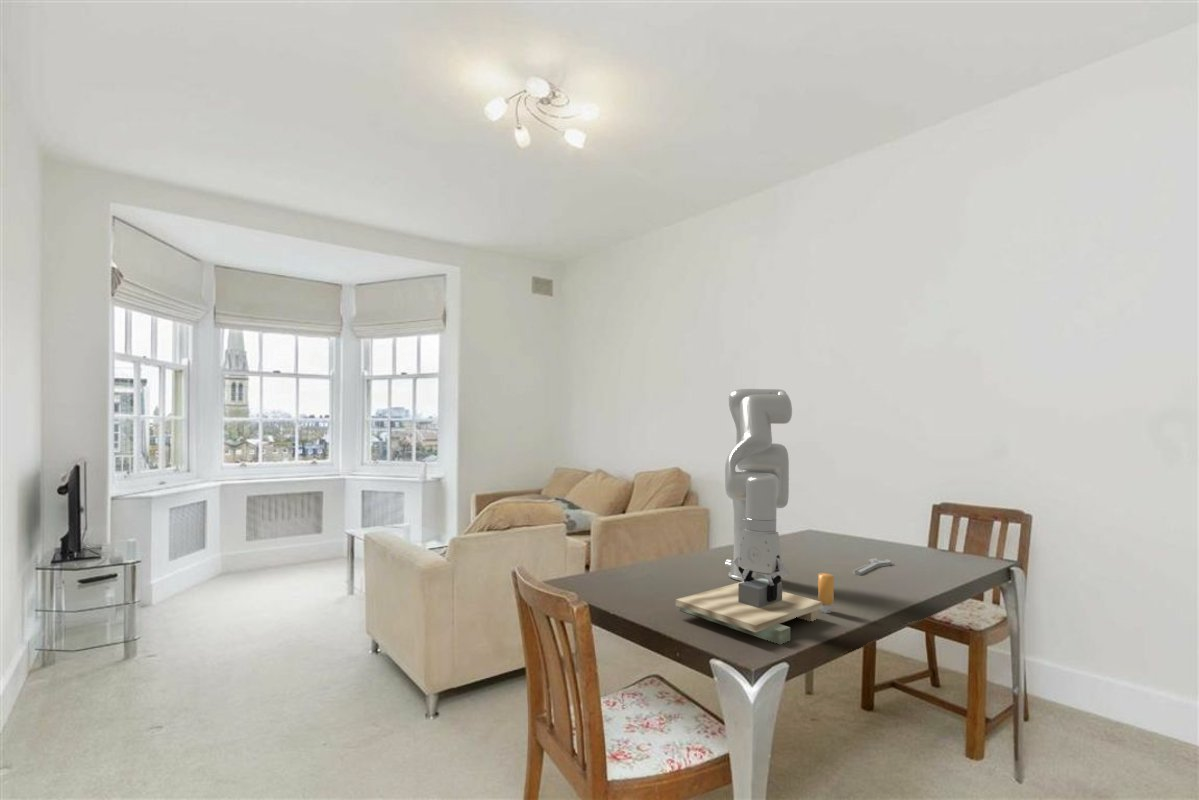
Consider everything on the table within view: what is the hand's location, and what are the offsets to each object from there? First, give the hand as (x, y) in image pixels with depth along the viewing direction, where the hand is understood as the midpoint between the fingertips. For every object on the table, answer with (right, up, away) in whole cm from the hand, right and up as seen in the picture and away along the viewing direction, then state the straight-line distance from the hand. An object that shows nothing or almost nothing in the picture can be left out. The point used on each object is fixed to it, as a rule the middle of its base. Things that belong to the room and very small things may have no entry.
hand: (760, 596), depth 152 cm
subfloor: (-3, -6, 0) cm, 6 cm away
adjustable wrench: (+51, -8, +55) cm, 76 cm away
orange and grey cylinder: (+19, -6, +7) cm, 21 cm away
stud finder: (0, -1, 0) cm, 1 cm away
